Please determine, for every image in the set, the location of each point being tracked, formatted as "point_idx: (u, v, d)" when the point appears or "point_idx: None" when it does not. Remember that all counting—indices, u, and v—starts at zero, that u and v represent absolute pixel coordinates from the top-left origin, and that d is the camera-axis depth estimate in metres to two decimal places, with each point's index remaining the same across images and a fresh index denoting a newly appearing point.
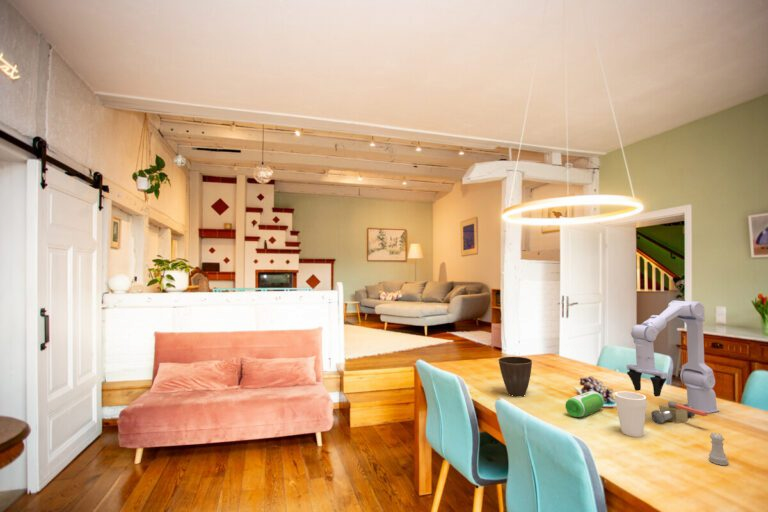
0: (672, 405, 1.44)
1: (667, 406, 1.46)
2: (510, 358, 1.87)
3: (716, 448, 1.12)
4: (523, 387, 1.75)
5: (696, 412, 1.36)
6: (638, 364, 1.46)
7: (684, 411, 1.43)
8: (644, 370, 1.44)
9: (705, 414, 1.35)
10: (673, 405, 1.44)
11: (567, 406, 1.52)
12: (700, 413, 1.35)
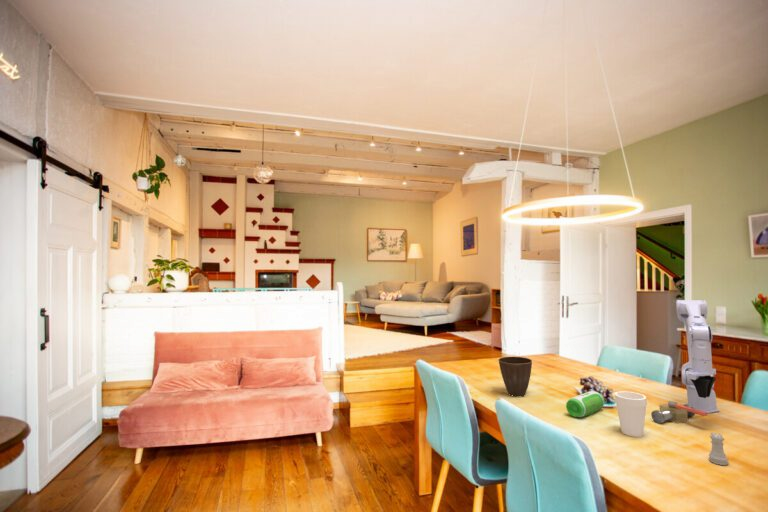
0: (672, 405, 1.44)
1: (667, 406, 1.46)
2: (510, 358, 1.87)
3: (716, 448, 1.12)
4: (523, 387, 1.75)
5: (696, 412, 1.36)
6: None
7: (684, 411, 1.43)
8: (691, 370, 1.41)
9: (705, 414, 1.35)
10: (673, 405, 1.44)
11: (568, 406, 1.52)
12: (700, 413, 1.35)
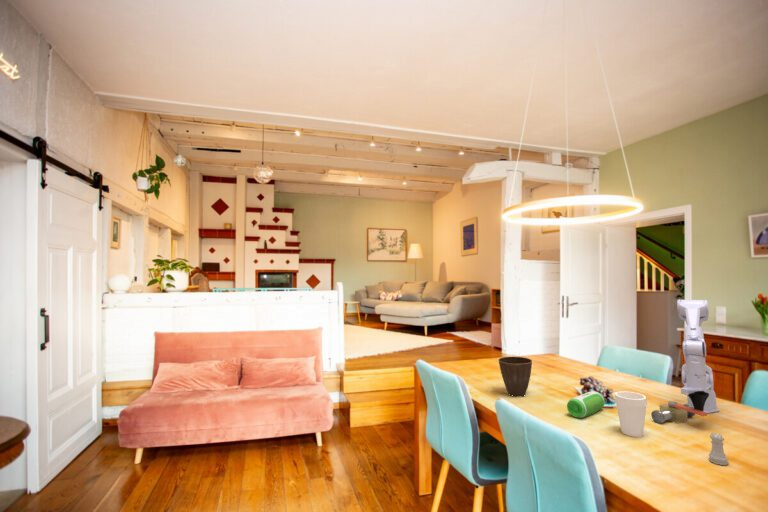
0: (672, 405, 1.44)
1: (667, 406, 1.46)
2: (510, 358, 1.87)
3: (716, 448, 1.12)
4: (523, 387, 1.75)
5: (696, 412, 1.36)
6: None
7: (684, 411, 1.43)
8: (686, 385, 1.40)
9: (705, 414, 1.35)
10: (673, 405, 1.44)
11: (569, 406, 1.51)
12: (699, 413, 1.35)
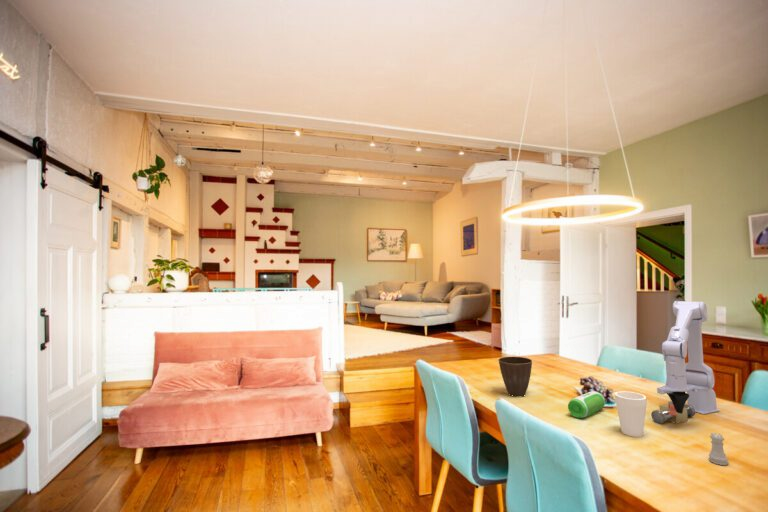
0: (668, 404, 1.45)
1: (667, 406, 1.46)
2: (510, 358, 1.87)
3: (716, 448, 1.12)
4: (523, 387, 1.75)
5: (669, 410, 1.39)
6: None
7: (684, 411, 1.43)
8: None
9: (673, 413, 1.36)
10: (669, 404, 1.45)
11: (570, 407, 1.51)
12: (669, 411, 1.38)
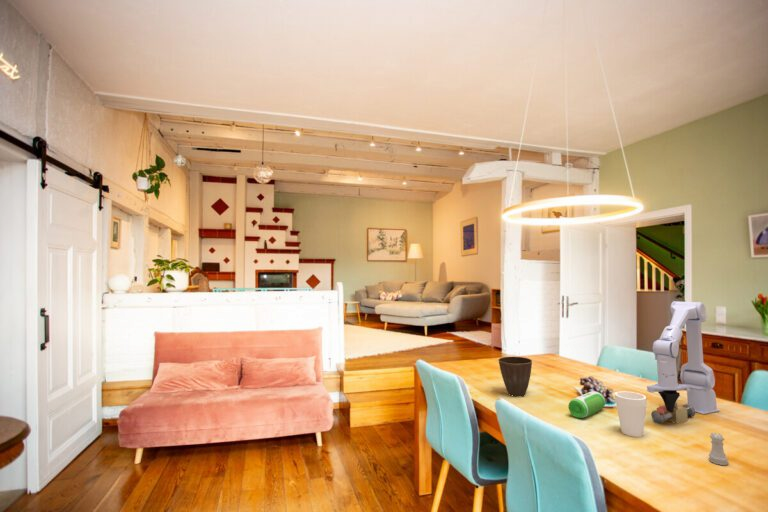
0: None
1: None
2: (510, 358, 1.87)
3: (716, 448, 1.12)
4: (523, 387, 1.75)
5: None
6: None
7: (684, 411, 1.43)
8: None
9: (660, 411, 1.39)
10: None
11: (570, 407, 1.51)
12: None
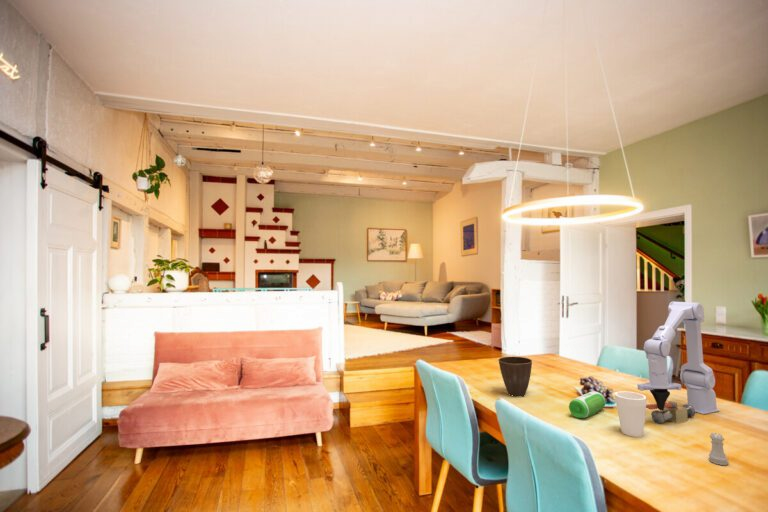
0: None
1: None
2: (510, 358, 1.87)
3: (716, 448, 1.12)
4: (523, 387, 1.75)
5: None
6: None
7: (684, 411, 1.43)
8: None
9: (648, 407, 1.43)
10: None
11: (570, 407, 1.51)
12: None
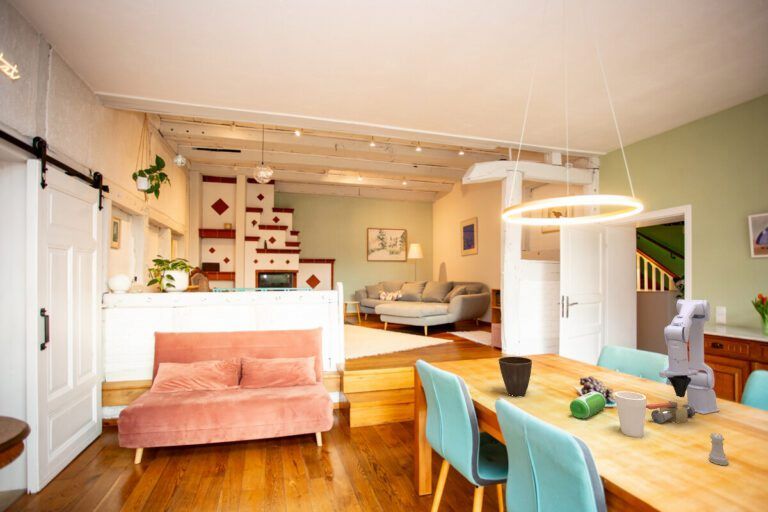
0: None
1: None
2: (510, 358, 1.87)
3: (716, 448, 1.12)
4: (523, 387, 1.75)
5: None
6: None
7: (684, 411, 1.43)
8: None
9: (648, 407, 1.43)
10: None
11: (571, 407, 1.50)
12: None
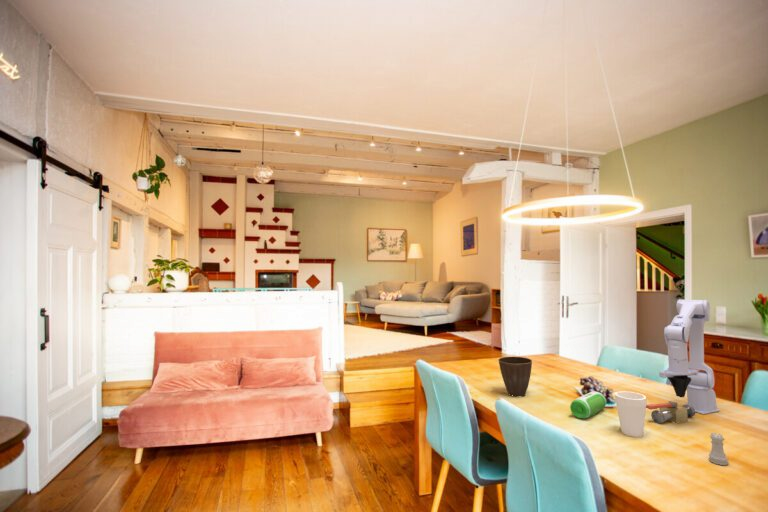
0: None
1: None
2: (510, 358, 1.87)
3: (716, 448, 1.12)
4: (523, 387, 1.75)
5: None
6: None
7: (684, 411, 1.43)
8: None
9: (648, 407, 1.43)
10: None
11: (572, 407, 1.50)
12: None
